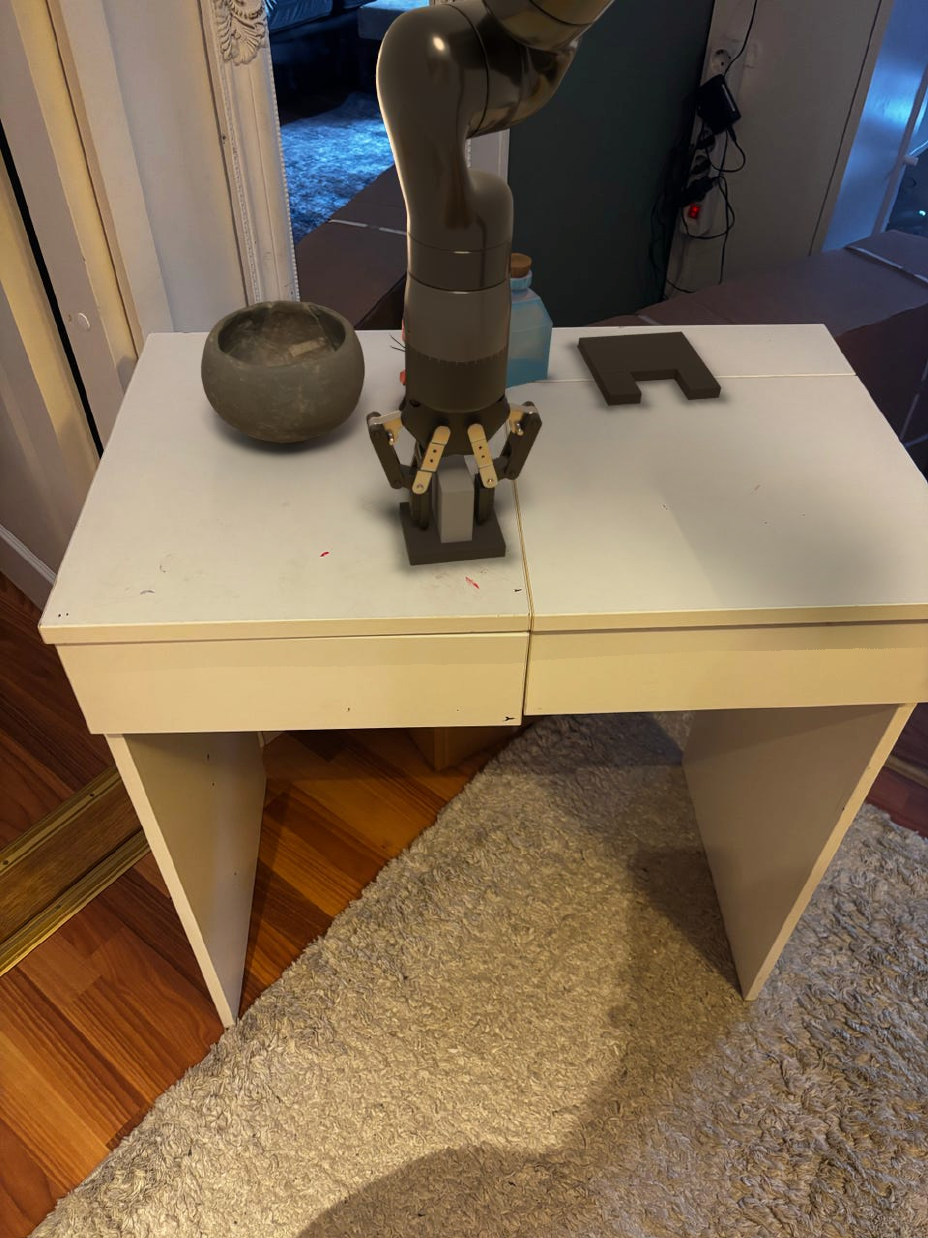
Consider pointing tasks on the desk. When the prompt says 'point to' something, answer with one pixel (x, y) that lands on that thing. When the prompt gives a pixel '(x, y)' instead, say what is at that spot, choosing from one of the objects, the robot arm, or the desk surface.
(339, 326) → the bowl
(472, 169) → the robot arm
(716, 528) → the desk surface
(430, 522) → the tab pad
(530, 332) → the perfume bottle
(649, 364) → the notch pad
